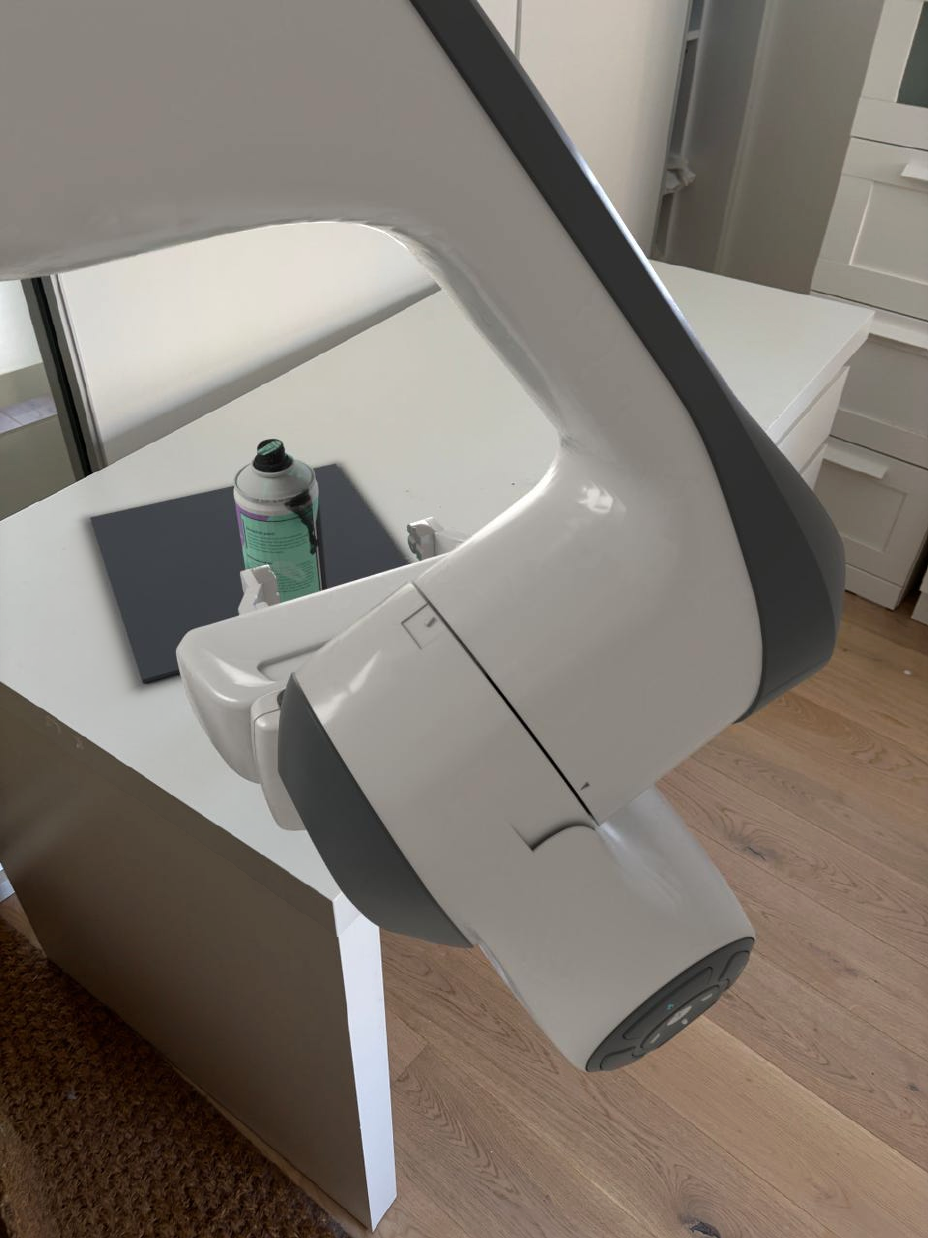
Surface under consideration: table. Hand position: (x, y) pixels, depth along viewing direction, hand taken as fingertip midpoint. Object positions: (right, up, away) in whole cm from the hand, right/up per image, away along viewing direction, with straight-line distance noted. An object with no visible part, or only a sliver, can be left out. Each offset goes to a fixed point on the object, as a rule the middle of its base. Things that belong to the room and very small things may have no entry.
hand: (339, 553), depth 52 cm
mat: (-12, +2, +34) cm, 36 cm away
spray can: (-6, -8, +22) cm, 24 cm away
